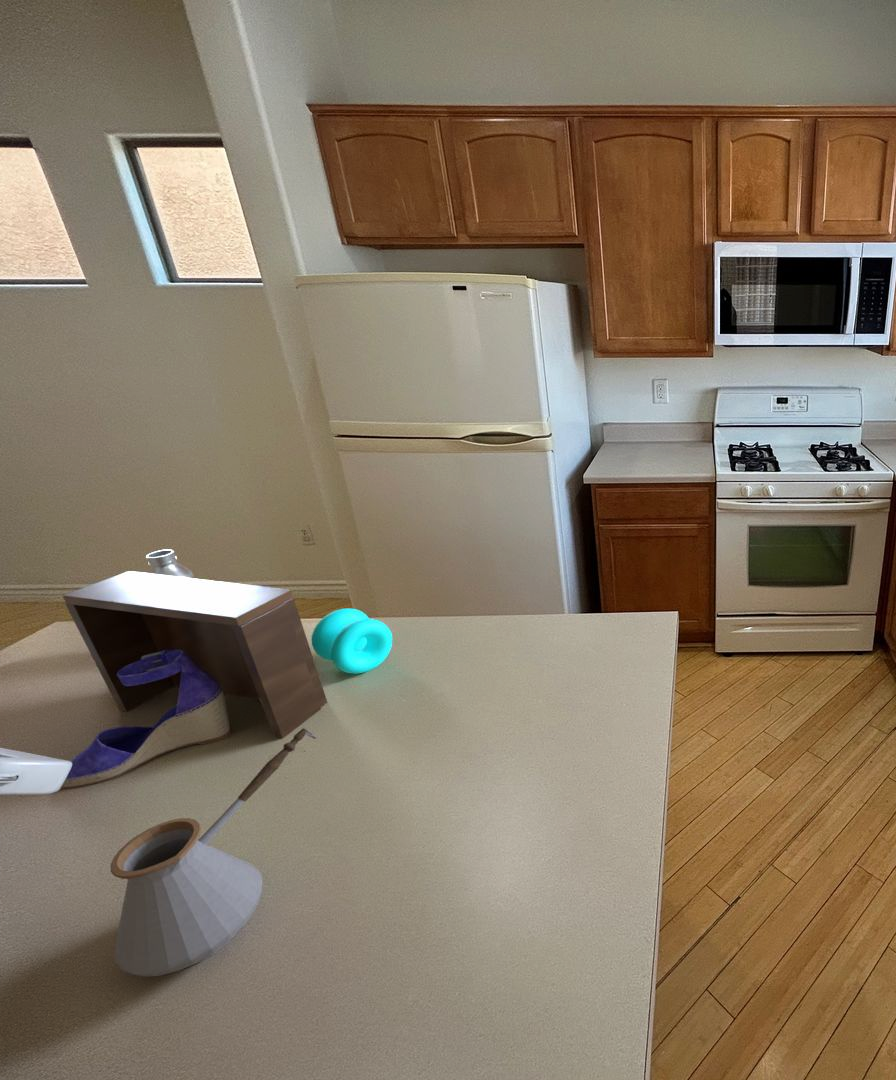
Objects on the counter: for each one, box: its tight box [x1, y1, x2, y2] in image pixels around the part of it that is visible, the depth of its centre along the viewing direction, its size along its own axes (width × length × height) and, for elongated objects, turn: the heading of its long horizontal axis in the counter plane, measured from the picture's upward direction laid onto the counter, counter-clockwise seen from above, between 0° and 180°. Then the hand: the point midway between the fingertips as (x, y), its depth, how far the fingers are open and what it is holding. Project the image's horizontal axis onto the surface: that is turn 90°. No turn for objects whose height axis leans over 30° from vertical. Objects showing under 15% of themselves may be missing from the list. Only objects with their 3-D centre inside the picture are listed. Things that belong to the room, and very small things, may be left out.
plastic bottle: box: [145, 549, 196, 579], centre depth 103 cm, size 6×7×20 cm
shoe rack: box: [62, 570, 328, 739], centre depth 87 cm, size 32×9×21 cm, turn 79°
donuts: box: [311, 607, 393, 675], centre depth 101 cm, size 10×10×10 cm
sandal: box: [60, 649, 232, 789], centre depth 78 cm, size 8×20×15 cm, turn 113°
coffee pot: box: [110, 727, 319, 977], centre depth 60 cm, size 21×12×15 cm, turn 159°
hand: (54, 765), depth 71 cm, fingers closed
